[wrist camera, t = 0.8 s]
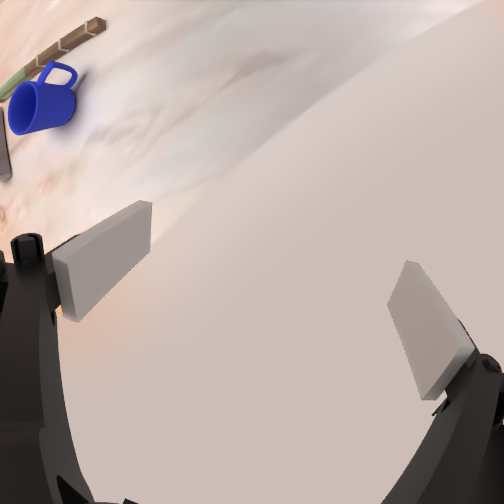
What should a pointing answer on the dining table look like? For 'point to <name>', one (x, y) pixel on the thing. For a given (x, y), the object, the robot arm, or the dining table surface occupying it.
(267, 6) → the dining table surface
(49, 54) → the brown and green stick
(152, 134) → the dining table surface
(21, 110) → the mug
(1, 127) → the grooved grey block
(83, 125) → the dining table surface
